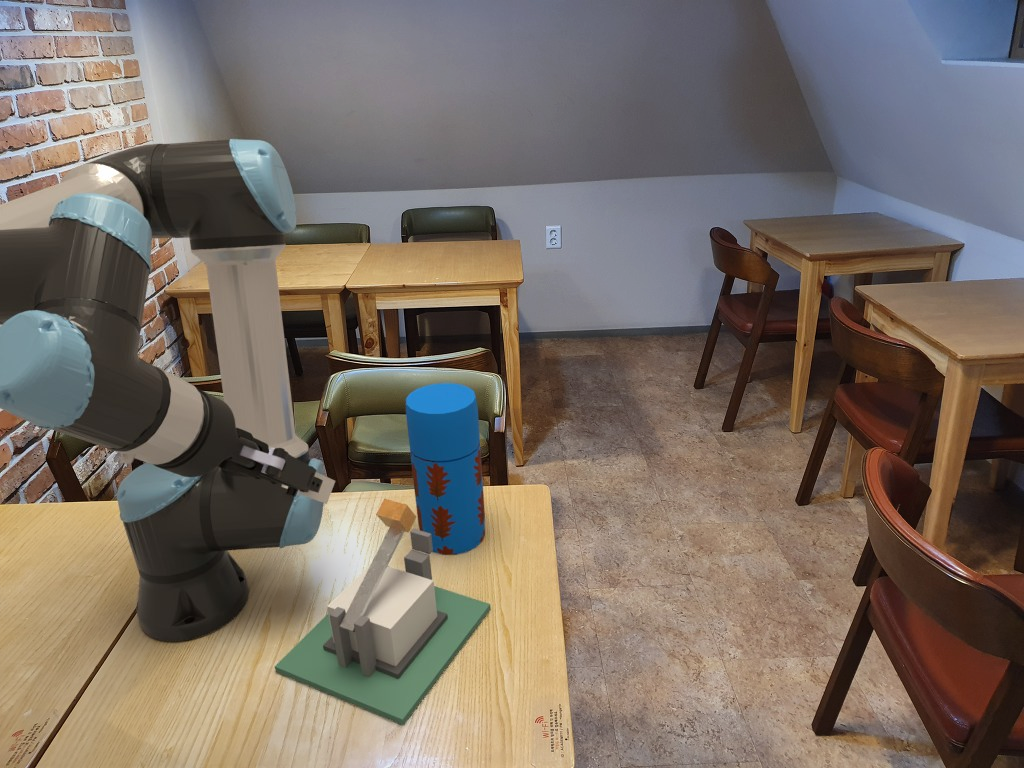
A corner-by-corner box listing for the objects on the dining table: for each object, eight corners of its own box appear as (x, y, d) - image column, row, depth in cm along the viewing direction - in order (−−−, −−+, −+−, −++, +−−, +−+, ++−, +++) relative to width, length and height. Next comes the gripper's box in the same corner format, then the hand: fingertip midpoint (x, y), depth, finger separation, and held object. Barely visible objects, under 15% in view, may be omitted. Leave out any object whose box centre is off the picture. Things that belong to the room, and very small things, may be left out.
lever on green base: (275, 672, 101) (260, 606, 96) (375, 572, 118) (367, 512, 114) (403, 725, 92) (393, 656, 87) (490, 609, 110) (486, 546, 105)
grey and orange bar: (336, 626, 97) (323, 615, 94) (394, 511, 105) (384, 498, 102) (359, 634, 95) (347, 624, 93) (417, 517, 103) (407, 504, 101)
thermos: (476, 558, 120) (466, 416, 110) (411, 552, 122) (394, 412, 112) (492, 518, 130) (483, 384, 119) (431, 513, 132) (417, 380, 121)
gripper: (103, 450, 68) (269, 509, 89) (209, 483, 63) (360, 537, 83) (139, 373, 70) (294, 447, 91) (245, 397, 65) (384, 471, 85)
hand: (325, 490), depth 87 cm, fingers closed
